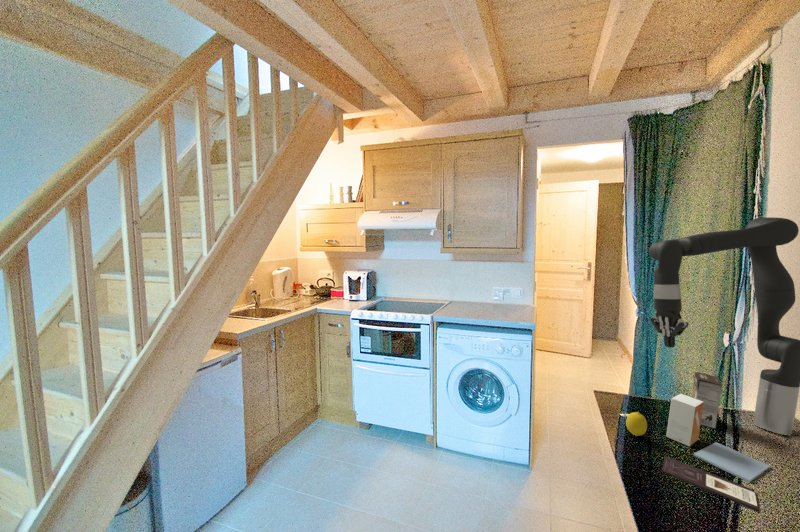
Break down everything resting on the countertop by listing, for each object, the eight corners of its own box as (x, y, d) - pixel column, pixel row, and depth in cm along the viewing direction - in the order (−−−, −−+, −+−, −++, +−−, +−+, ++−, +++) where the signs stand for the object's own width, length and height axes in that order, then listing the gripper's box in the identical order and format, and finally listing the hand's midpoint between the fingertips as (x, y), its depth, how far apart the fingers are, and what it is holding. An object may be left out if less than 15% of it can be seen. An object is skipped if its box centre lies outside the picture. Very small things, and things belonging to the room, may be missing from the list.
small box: (690, 447, 103) (695, 407, 102) (665, 436, 109) (670, 398, 108) (699, 440, 108) (704, 401, 107) (674, 430, 113) (679, 393, 112)
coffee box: (688, 412, 127) (694, 371, 125) (711, 418, 123) (717, 376, 122) (691, 422, 119) (697, 378, 118) (716, 429, 116) (722, 384, 114)
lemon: (644, 435, 109) (647, 411, 108) (646, 443, 104) (649, 418, 103) (624, 429, 112) (627, 406, 111) (624, 436, 107) (627, 412, 106)
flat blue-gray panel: (715, 443, 106) (716, 442, 106) (770, 467, 96) (770, 465, 96) (693, 455, 99) (693, 453, 99) (749, 482, 89) (749, 480, 89)
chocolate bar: (664, 455, 97) (754, 490, 85) (664, 458, 97) (753, 493, 85) (661, 470, 91) (757, 509, 79) (661, 473, 91) (757, 513, 79)
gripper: (695, 298, 111) (698, 350, 111) (659, 295, 124) (662, 342, 124) (675, 299, 110) (678, 351, 110) (641, 296, 123) (643, 343, 123)
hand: (669, 346), depth 117 cm, fingers closed
